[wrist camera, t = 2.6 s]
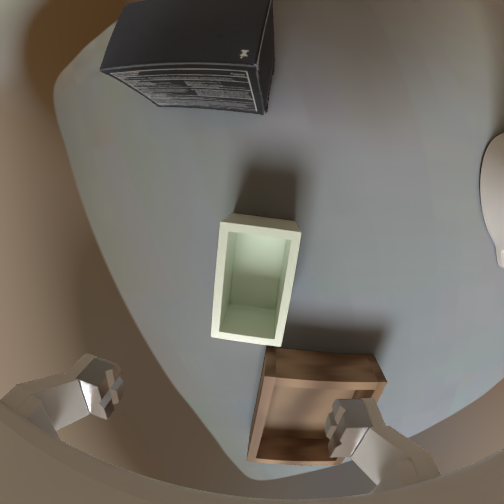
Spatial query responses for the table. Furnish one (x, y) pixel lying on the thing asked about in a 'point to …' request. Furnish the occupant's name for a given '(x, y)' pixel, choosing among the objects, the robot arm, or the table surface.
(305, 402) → the walnut crate
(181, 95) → the small box
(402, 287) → the table surface
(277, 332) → the sage crate
